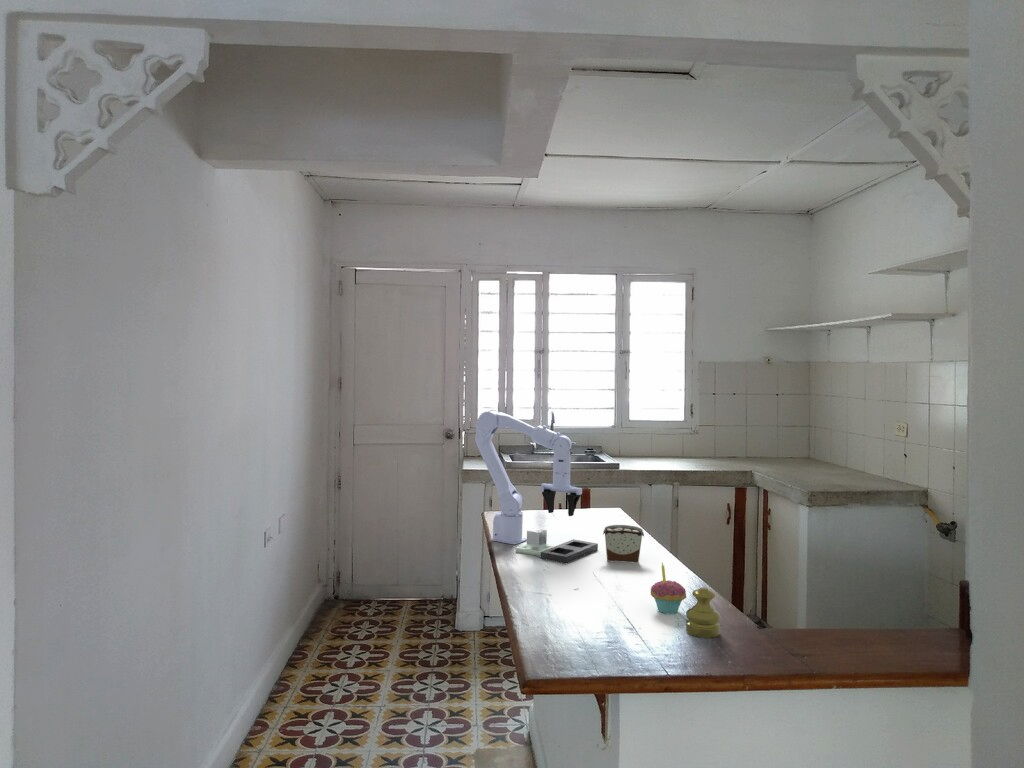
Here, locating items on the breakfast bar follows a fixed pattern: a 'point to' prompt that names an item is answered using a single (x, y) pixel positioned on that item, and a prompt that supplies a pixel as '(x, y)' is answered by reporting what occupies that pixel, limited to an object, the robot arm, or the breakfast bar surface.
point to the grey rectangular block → (536, 539)
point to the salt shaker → (703, 615)
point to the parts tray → (532, 552)
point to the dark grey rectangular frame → (569, 551)
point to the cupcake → (668, 594)
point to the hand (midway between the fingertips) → (560, 514)
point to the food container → (623, 543)
